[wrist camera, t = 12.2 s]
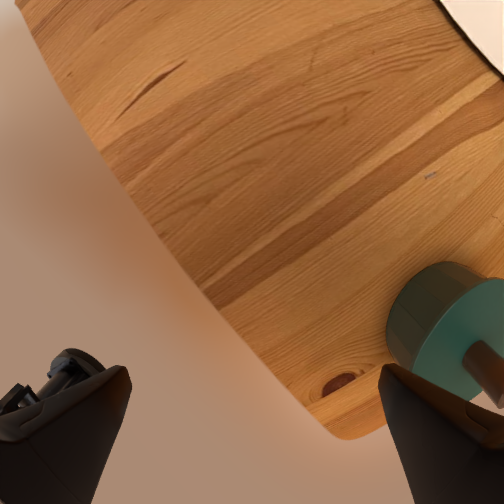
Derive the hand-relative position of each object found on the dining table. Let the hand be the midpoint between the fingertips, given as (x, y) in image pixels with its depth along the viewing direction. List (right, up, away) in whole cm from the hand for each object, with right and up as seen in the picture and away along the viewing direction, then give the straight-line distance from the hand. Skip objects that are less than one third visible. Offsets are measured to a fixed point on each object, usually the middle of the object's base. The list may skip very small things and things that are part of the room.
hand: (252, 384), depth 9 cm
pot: (+16, -1, +12) cm, 20 cm away
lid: (+16, -3, +6) cm, 17 cm away
